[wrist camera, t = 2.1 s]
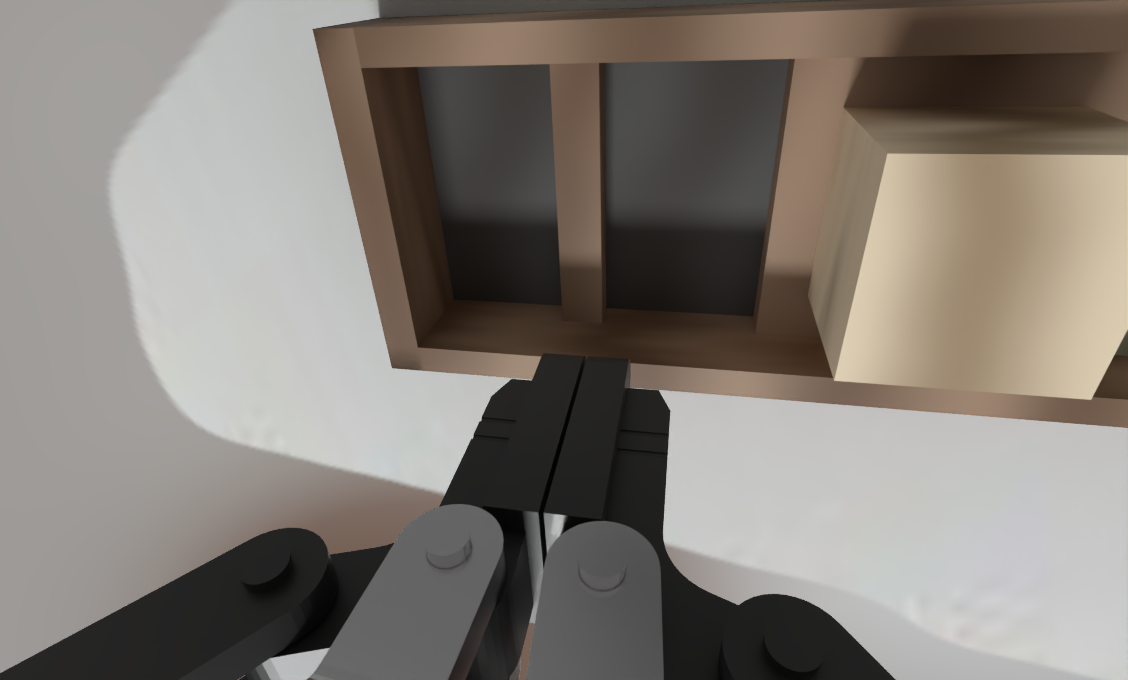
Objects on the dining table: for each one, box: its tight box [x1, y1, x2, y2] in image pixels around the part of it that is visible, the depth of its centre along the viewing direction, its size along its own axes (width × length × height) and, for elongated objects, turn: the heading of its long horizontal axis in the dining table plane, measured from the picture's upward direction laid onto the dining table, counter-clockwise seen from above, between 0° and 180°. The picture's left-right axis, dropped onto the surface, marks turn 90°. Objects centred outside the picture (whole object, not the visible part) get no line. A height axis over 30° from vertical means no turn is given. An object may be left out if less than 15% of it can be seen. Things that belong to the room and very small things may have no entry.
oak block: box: [808, 106, 1128, 400], centre depth 16 cm, size 6×6×5 cm
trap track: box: [313, 0, 1128, 428], centre depth 18 cm, size 31×11×5 cm, turn 93°
